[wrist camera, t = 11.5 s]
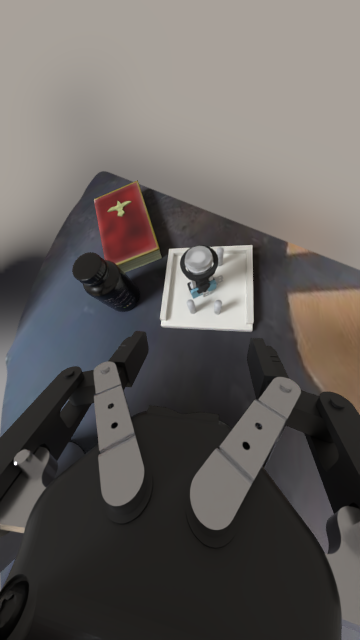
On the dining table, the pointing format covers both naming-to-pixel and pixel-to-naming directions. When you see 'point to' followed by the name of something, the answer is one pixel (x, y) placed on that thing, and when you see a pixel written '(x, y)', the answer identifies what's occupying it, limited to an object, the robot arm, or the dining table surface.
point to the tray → (211, 293)
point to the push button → (200, 270)
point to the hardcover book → (126, 228)
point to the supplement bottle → (106, 282)
